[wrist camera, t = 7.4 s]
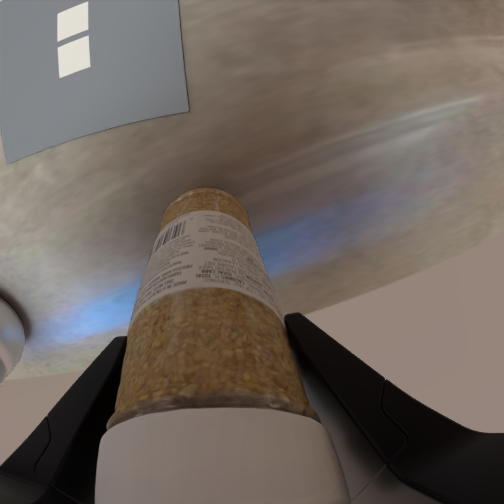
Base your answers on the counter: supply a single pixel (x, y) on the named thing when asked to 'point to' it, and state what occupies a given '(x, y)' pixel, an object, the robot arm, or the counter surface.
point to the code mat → (85, 68)
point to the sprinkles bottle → (212, 378)
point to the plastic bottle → (10, 339)
